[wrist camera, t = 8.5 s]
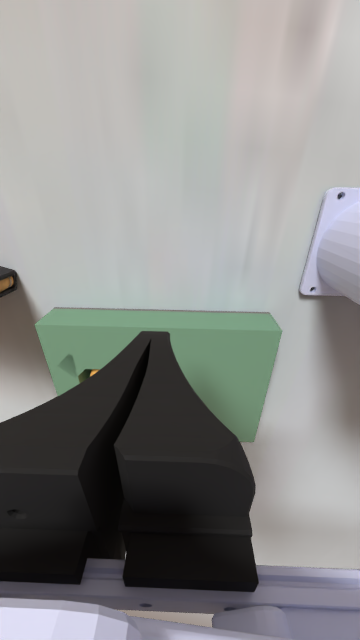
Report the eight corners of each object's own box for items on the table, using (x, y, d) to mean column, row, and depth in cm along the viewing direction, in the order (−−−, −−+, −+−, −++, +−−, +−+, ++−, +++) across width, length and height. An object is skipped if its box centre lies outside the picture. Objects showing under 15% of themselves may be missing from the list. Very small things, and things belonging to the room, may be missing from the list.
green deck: (269, 312, 21) (282, 330, 18) (247, 416, 28) (253, 442, 25) (55, 307, 22) (34, 324, 19) (82, 411, 28) (70, 435, 26)
